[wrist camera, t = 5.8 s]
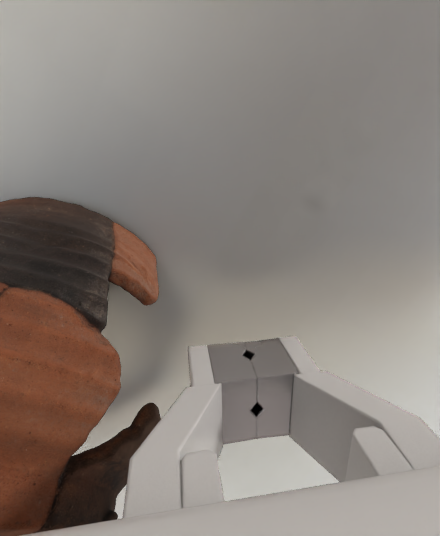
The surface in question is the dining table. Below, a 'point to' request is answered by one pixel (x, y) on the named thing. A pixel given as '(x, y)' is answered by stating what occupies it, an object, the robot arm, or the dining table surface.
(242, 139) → the dining table surface
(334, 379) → the robot arm
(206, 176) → the dining table surface
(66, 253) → the broken brown mug
